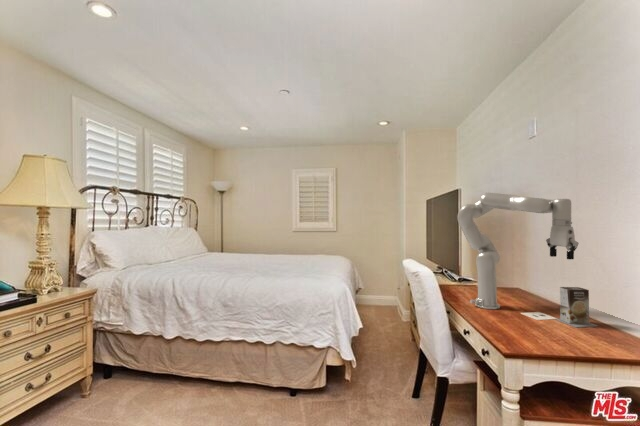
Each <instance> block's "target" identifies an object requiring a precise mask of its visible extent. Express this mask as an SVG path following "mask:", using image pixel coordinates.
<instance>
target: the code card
mask: <svg viewBox="0 0 640 426" xmlns="http://www.w3.org/2000/svg"><path fill="white" fill-rule="evenodd" d="M520 314H521V315H523V316H526V317H527V318H528V317H529V318H531V319H534V320H536V321H545V320H548V321H549V320H556V319H558V318H557V317H553V316H552V315H549V314H546V313H543V312H541V311H536V312H535V311H534V312H520Z"/></svg>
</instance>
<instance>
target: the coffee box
mask: <svg viewBox="0 0 640 426" xmlns="http://www.w3.org/2000/svg"><path fill="white" fill-rule="evenodd" d="M589 294H590V291H589V289H587V288H583V287H578V286H574V287H572V286H560V287H559V311H560V312H559V313H560V314H559V319H561V320H563V321H565V322H567V323H570V324H589V323H590V295H589Z"/></svg>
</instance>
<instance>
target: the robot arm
mask: <svg viewBox="0 0 640 426" xmlns="http://www.w3.org/2000/svg"><path fill="white" fill-rule="evenodd" d="M494 209H498V210H505V211H513V212H514V211H518V212H519V211H520V212H527V213H528V212H529V213H536V214H550V213H551V215H552V216H551V217H552V219H551V227H550V234H549V238H546V240H545V241H546V243H547V244H546V245H547V247H548V249H549V257H550V258H551V257H553V258H554V257H557V256H558V255H557V252H558V251H557V249H558V248H557V247H563V248H566V260H574V259H575V251H576V249H577V248H578V246H579V245H580V244H579V243H580V242H579V241H576V238H575V236H576V235H575V230H574V227H573V226H572V224H573V221H572V200H571V199H569V198H556V199H546V198H542V197H540V198H539V197H530V196H521V195H516V194H509V193H508V194H507V193H506V194H505V193H496V192H485V193H482V195H480V199H479V201H476V202H475V203H474V204H472V203H468V204H465V205H463V206H462V207H461V208H460V209H459V211H458V212H457V222H458V225H459V227H460V229H461V231H462V233H463V234H464V237H465V239H466V241H467V243H468V244H469V245H468V246H469V247H470V248H471V249H473V250H474V251H477V252H478V253H477V255H476V258H475V265H476V266H475V267H476V274H477V297H476V298H475V299H470V300H469V303H470V304H475V305H474V306H475V307H477V308H480V309H485V310H498V309H500V308H501V304H499V303H498V295H497V270H496V265H498V264H499V262H500V258H501V257H500V255H499V252H498V251H497V248H496V247H495V245H494V242H493V241H492V240H491V238H490V237H489V236H488V235H487V234H485V233H483V232H482V233H481V231H480V229H479V226H478V225H477V224H476V222H475V221H474V219H478V218H481V217H483V216H484V215H486V214H488V213H489V212H490V211H492V210H494Z"/></svg>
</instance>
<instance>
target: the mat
mask: <svg viewBox="0 0 640 426" xmlns="http://www.w3.org/2000/svg"><path fill="white" fill-rule="evenodd" d="M555 321H558V322H560V323H563V324H565V325H569V326H571V327H573V328H576V329H577V328H591V327H592V328H594V327H599V325H598V324H596V323H595V324H594V323H591V322H589V324H570V323H567V322H565V321H563V320H561V319H560V318H557V319H555Z"/></svg>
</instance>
